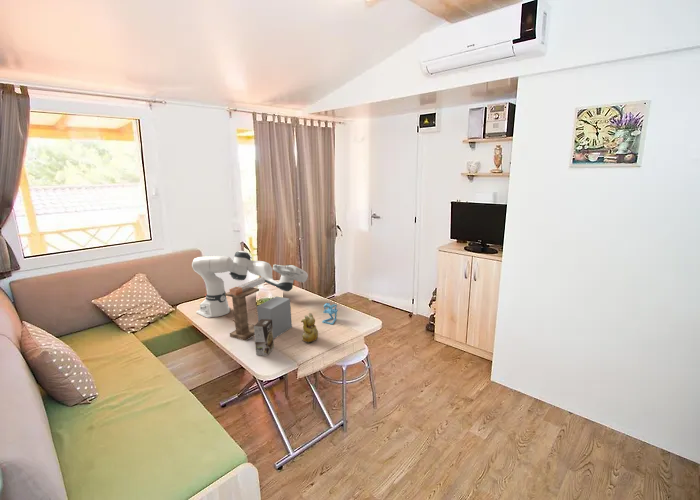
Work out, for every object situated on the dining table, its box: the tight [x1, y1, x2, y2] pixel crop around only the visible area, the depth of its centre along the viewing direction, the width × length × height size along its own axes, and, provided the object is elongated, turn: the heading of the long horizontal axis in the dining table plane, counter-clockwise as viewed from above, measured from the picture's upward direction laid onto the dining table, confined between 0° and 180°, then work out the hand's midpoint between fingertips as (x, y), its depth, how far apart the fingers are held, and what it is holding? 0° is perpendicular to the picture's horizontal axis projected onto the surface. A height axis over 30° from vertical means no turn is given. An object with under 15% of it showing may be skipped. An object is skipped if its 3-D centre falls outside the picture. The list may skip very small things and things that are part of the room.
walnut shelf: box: [225, 287, 260, 342], centre depth 202 cm, size 12×14×26 cm
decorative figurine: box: [300, 312, 319, 344], centre depth 193 cm, size 10×8×15 cm
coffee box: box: [253, 319, 275, 356], centre depth 183 cm, size 9×6×16 cm
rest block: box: [256, 296, 293, 339], centre depth 205 cm, size 10×17×18 cm, turn 152°
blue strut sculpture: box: [321, 302, 339, 326], centre depth 217 cm, size 8×8×12 cm
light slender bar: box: [229, 276, 266, 296], centre depth 203 cm, size 4×24×3 cm, turn 152°
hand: (280, 266), depth 227 cm, fingers open, 8 cm apart
